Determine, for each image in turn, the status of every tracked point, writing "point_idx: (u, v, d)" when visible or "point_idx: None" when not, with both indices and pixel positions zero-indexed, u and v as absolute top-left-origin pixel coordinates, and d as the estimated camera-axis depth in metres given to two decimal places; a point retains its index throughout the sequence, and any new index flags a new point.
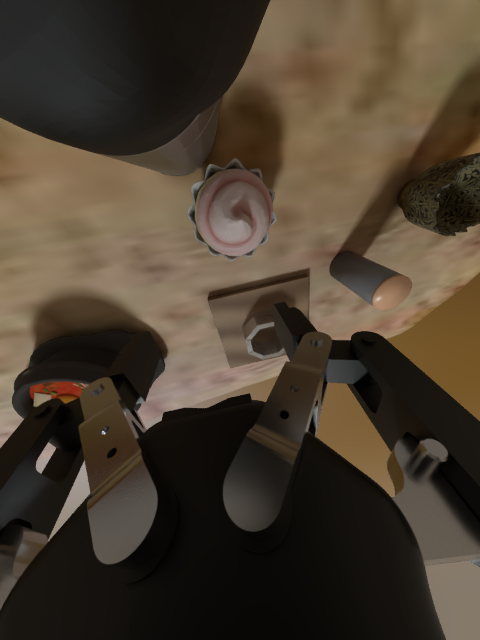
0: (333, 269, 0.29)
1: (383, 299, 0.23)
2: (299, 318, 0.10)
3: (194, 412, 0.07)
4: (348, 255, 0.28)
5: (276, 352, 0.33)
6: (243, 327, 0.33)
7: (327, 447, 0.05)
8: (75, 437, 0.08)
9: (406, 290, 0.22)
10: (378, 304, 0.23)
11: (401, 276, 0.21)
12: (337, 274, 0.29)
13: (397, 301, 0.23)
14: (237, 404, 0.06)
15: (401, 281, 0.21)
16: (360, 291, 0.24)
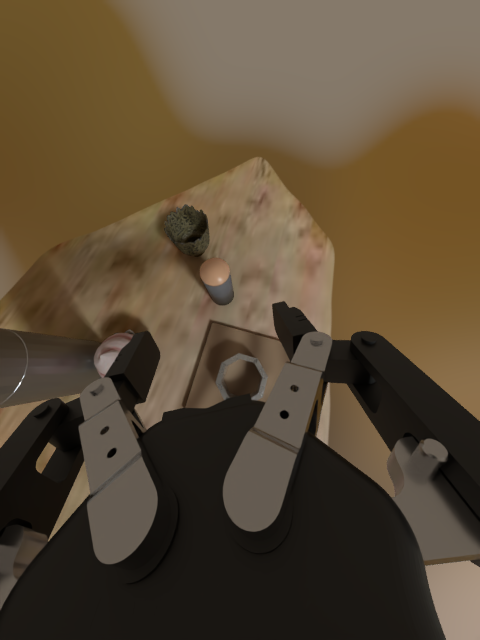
0: (217, 303, 0.36)
1: (215, 277, 0.28)
2: (299, 318, 0.10)
3: (194, 412, 0.07)
4: None
5: (262, 379, 0.30)
6: None
7: (327, 447, 0.05)
8: (75, 437, 0.08)
9: (217, 261, 0.28)
10: (218, 282, 0.28)
11: (202, 265, 0.29)
12: (218, 301, 0.35)
13: (224, 267, 0.28)
14: (237, 404, 0.06)
15: (206, 265, 0.28)
16: (214, 291, 0.30)
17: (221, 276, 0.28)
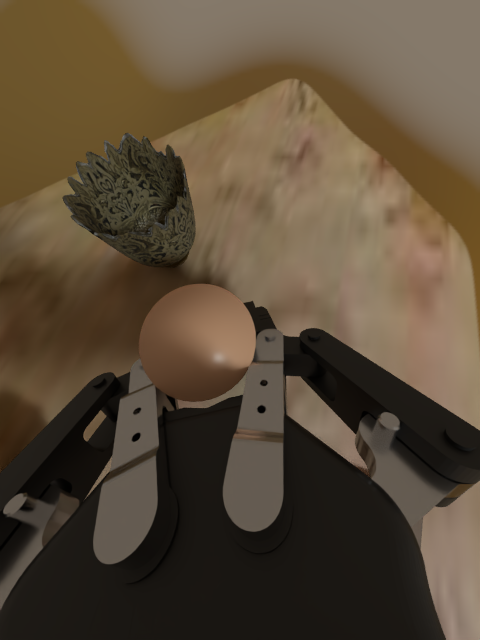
0: None
1: (200, 367, 0.07)
2: (263, 317, 0.11)
3: (194, 412, 0.07)
4: None
5: None
6: None
7: (327, 447, 0.05)
8: None
9: (208, 297, 0.08)
10: (212, 386, 0.07)
11: (151, 312, 0.08)
12: None
13: (236, 322, 0.07)
14: (237, 404, 0.06)
15: (166, 313, 0.07)
16: None
17: (224, 361, 0.07)
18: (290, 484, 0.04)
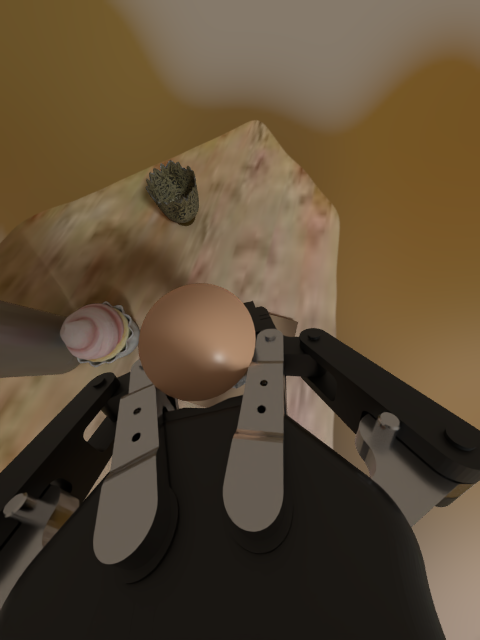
0: None
1: (199, 367, 0.07)
2: (263, 317, 0.11)
3: (194, 412, 0.07)
4: None
5: None
6: None
7: (327, 447, 0.05)
8: None
9: (208, 297, 0.07)
10: (211, 386, 0.07)
11: (151, 312, 0.08)
12: None
13: (236, 322, 0.07)
14: (237, 404, 0.06)
15: (165, 312, 0.07)
16: None
17: (223, 361, 0.07)
18: (290, 484, 0.04)
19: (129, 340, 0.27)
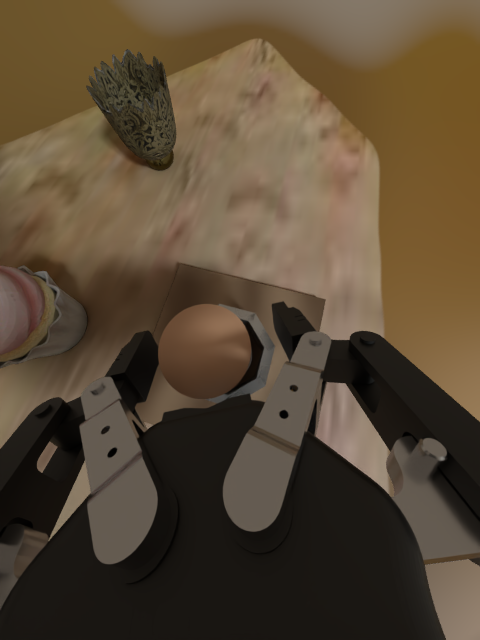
0: None
1: (206, 372, 0.09)
2: (298, 318, 0.11)
3: (194, 412, 0.07)
4: None
5: (263, 351, 0.15)
6: None
7: (327, 447, 0.05)
8: (76, 436, 0.08)
9: (213, 315, 0.09)
10: (216, 387, 0.09)
11: (167, 328, 0.09)
12: None
13: (235, 336, 0.09)
14: (237, 404, 0.06)
15: (179, 328, 0.09)
16: None
17: (225, 367, 0.09)
18: None
19: (56, 327, 0.17)
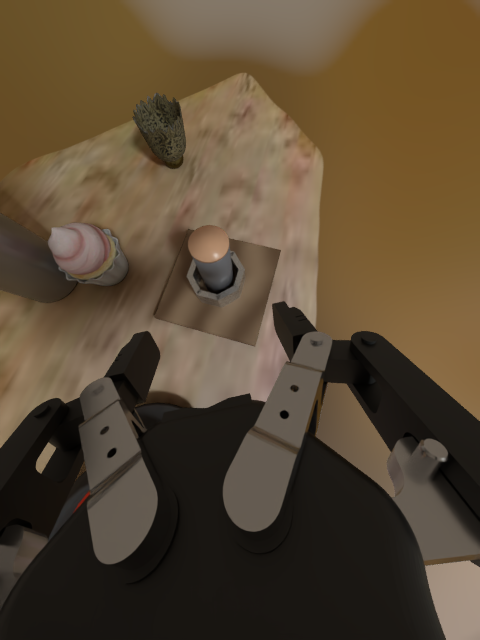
0: (213, 292, 0.29)
1: (210, 251, 0.20)
2: (299, 318, 0.10)
3: (194, 412, 0.07)
4: None
5: (238, 272, 0.27)
6: None
7: (327, 447, 0.05)
8: (75, 437, 0.08)
9: (212, 229, 0.21)
10: (214, 256, 0.20)
11: (191, 235, 0.21)
12: (214, 290, 0.28)
13: (222, 237, 0.21)
14: (237, 404, 0.06)
15: (197, 235, 0.21)
16: (209, 272, 0.22)
17: (218, 249, 0.20)
18: None
19: (116, 261, 0.28)
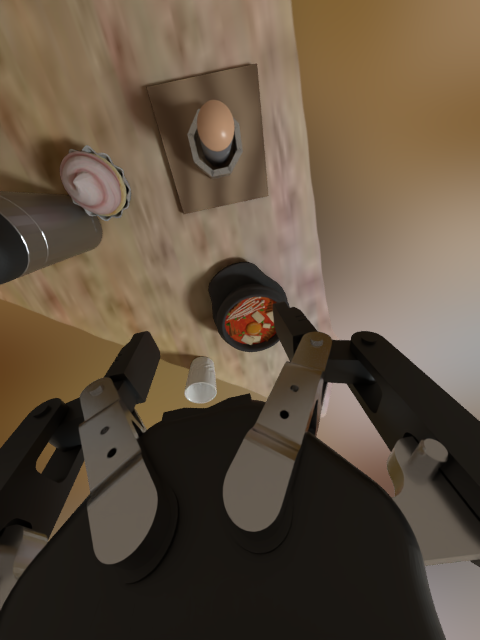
0: (219, 164, 0.32)
1: (222, 135, 0.23)
2: (299, 318, 0.10)
3: (194, 412, 0.07)
4: (204, 153, 0.30)
5: (234, 130, 0.28)
6: (210, 177, 0.33)
7: (327, 447, 0.05)
8: (75, 437, 0.08)
9: (210, 107, 0.22)
10: (228, 139, 0.23)
11: (197, 127, 0.23)
12: (221, 162, 0.31)
13: (223, 111, 0.22)
14: (237, 404, 0.06)
15: (202, 123, 0.23)
16: (223, 153, 0.26)
17: (227, 128, 0.23)
18: None
19: (124, 180, 0.30)
